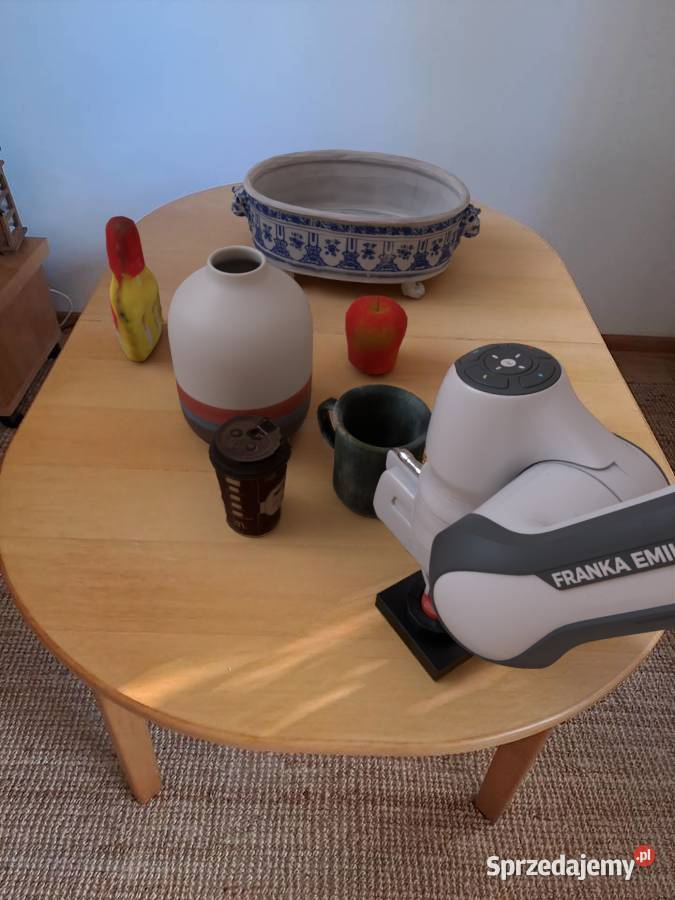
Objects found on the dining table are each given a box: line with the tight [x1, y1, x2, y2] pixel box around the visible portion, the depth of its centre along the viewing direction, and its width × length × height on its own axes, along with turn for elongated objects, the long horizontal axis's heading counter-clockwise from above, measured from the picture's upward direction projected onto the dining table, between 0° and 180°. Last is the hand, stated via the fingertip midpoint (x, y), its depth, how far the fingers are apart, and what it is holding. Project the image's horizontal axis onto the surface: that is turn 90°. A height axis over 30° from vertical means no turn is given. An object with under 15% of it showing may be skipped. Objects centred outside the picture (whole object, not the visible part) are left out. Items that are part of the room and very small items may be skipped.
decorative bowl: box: [230, 149, 482, 299], centre depth 114 cm, size 42×27×15 cm, turn 85°
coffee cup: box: [208, 414, 293, 538], centre depth 73 cm, size 9×8×13 cm
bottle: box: [104, 215, 165, 362], centre depth 93 cm, size 12×6×20 cm, turn 179°
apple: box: [344, 294, 409, 376], centre depth 94 cm, size 9×8×12 cm
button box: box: [374, 568, 475, 683], centre depth 68 cm, size 10×8×4 cm
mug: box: [316, 383, 432, 518], centre depth 78 cm, size 11×15×12 cm
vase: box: [167, 244, 314, 445], centre depth 81 cm, size 17×17×24 cm
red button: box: [420, 592, 439, 622], centre depth 67 cm, size 4×4×2 cm
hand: (439, 601), depth 66 cm, fingers closed, pressing on red button
